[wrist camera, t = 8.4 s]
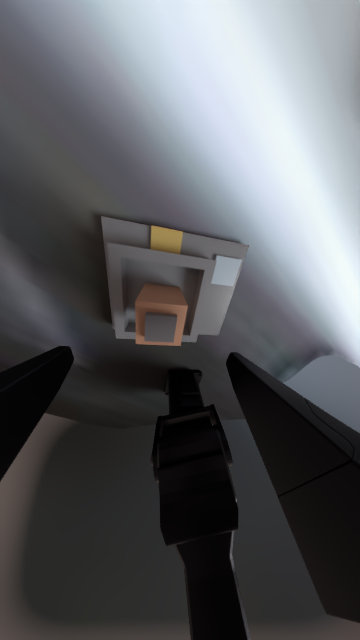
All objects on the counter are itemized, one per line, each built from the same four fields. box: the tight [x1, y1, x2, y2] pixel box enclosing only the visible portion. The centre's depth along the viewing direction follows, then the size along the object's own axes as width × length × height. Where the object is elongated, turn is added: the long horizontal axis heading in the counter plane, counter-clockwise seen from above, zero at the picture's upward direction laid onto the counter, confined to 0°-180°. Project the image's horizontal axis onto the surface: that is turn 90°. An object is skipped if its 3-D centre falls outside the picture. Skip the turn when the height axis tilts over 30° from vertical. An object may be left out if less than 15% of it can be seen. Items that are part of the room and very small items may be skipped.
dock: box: [101, 216, 249, 342], centre depth 15 cm, size 12×15×3 cm
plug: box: [135, 283, 188, 346], centre depth 13 cm, size 4×4×7 cm
